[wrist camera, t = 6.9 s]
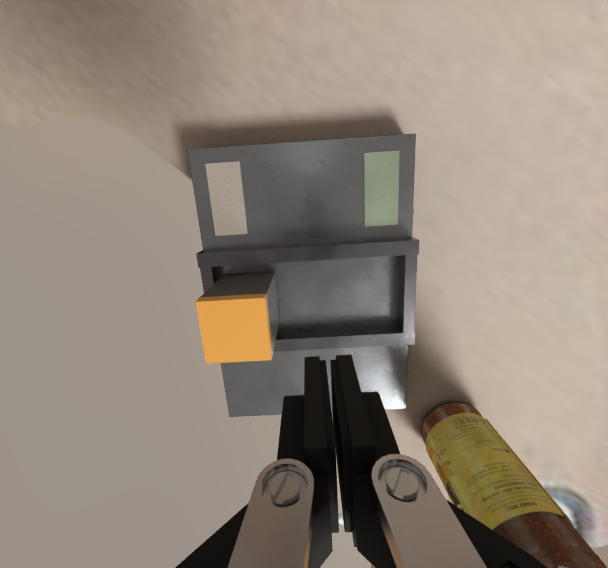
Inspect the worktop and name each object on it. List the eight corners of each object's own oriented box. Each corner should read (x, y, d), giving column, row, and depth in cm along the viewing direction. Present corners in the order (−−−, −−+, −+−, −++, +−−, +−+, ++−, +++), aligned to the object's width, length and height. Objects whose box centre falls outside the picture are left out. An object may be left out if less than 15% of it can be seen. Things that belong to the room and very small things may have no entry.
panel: (197, 153, 23) (178, 145, 19) (406, 139, 22) (424, 128, 19) (234, 402, 29) (225, 429, 26) (399, 393, 29) (411, 420, 25)
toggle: (222, 275, 23) (195, 301, 17) (275, 272, 23) (264, 297, 17) (229, 323, 24) (206, 363, 19) (279, 321, 24) (271, 360, 18)
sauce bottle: (404, 428, 30) (582, 846, 11) (452, 386, 28) (754, 778, 9) (450, 463, 31) (684, 896, 12) (498, 424, 30) (850, 842, 10)
